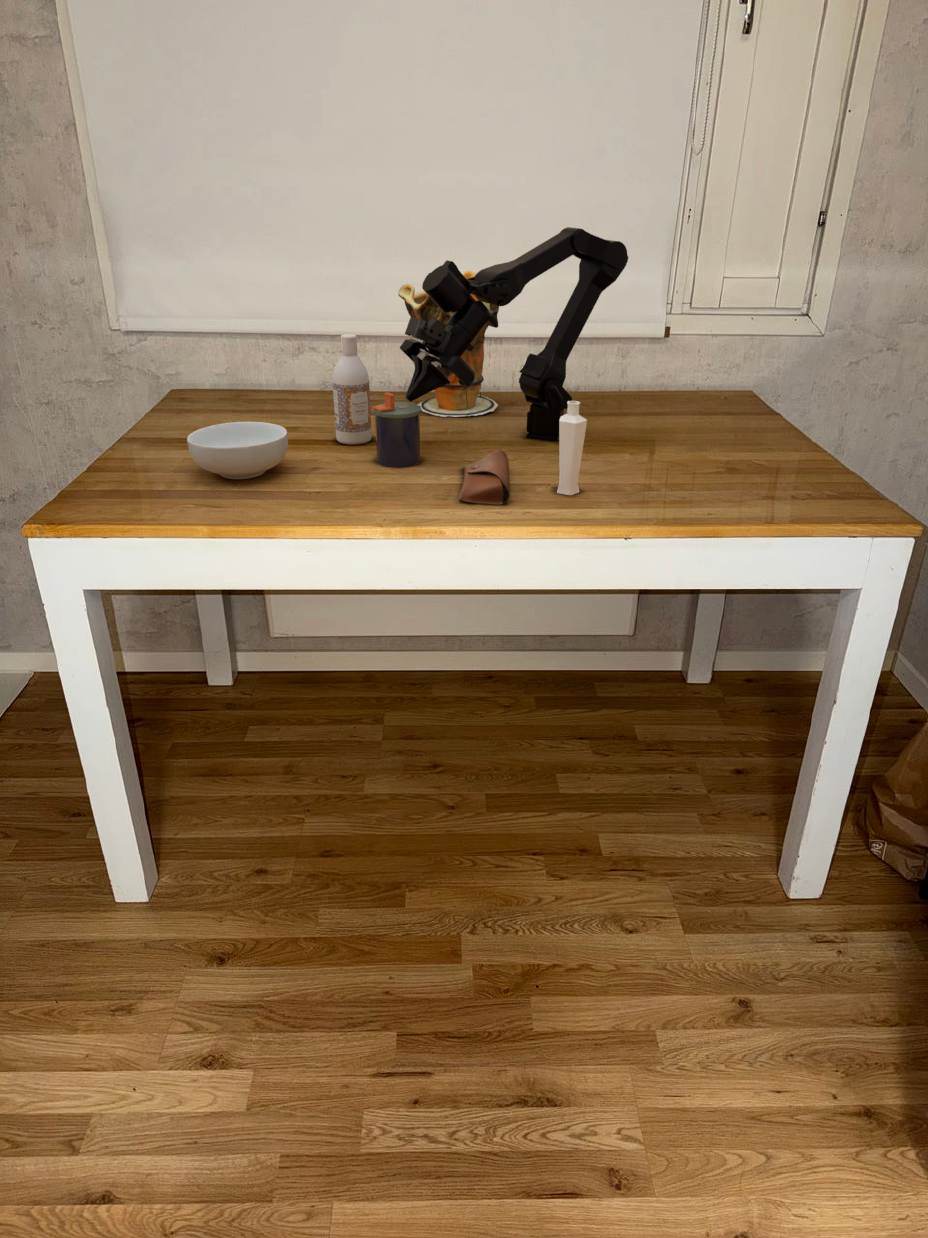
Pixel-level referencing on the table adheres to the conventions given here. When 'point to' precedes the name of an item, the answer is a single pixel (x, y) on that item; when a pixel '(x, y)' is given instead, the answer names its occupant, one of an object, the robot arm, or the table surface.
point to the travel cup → (398, 435)
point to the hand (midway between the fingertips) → (407, 399)
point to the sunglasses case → (487, 480)
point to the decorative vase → (454, 395)
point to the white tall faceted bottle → (570, 448)
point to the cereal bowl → (238, 448)
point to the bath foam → (351, 395)
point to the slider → (386, 403)
